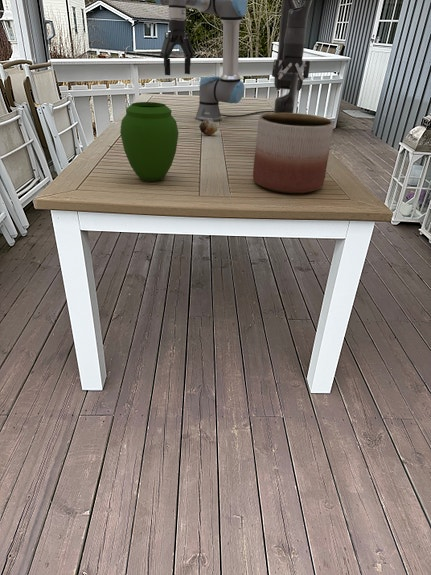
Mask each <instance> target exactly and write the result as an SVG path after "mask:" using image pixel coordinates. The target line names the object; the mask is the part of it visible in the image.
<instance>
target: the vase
mask: <svg viewBox="0 0 431 575" xmlns="http://www.w3.org/2000/svg"><path fill="white" fill-rule="evenodd" d="M125 113H126V114H125V115H124V117H122V119H121V122H120V123H121V124H120V130H119V133H120V138H121V142H122V147H123V150H124V154H125V155H126V158H127V160H128V163H129V165H130V167H131V168H132V170H133V172H134V173H135V175H136V176H137V177H138V178H139V179H141V180H143V181H145V182H159V181H161V180H163V179H164V178H165V176H166V175H167V174H168V173H169V170H170V169H171V167H172V165H173V162H174V159H175V157H176V156H175V155H176V153H177V147H178V140H179V129H178V122H177V120H176V119H175V117H174V116H173V115H172V109H171V108H170V107H169V106H167V105H166V104H164V103H162V102H155V101H138V102H132V103H131V104H130V105H128V107H127V108H125Z"/></svg>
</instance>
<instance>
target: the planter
mask: <svg viewBox="0 0 431 575" xmlns="http://www.w3.org/2000/svg"><path fill="white" fill-rule="evenodd" d="M334 128H335V121H333V120H332V119H330V118H327V117H324V116H321V115H320V116H319V115H316V114H315V115H314V114H307V113H299V112H293V113H274V112H267V113H262V114H261V115H259V116H258V121H257V132H256V142H255V150H254V159H253V168H252V180H253V181H254V182H255V183H256V184H257V185H258V186H260V187H262V188H263V189H267V190H269V191H273V192H276V193H282V194H307V193H312V192H315V191H317V190H319V189H321V188H322V187H323V185H324V182H325V178H326V173H327V167H328V161H329V156H330V150H331V144H332V139H333V133H334Z"/></svg>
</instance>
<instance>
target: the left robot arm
mask: <svg viewBox="0 0 431 575" xmlns="http://www.w3.org/2000/svg"><path fill="white" fill-rule="evenodd" d="M153 1H154V2H155V4H157V5H162V6H163V5H166V6H168V19H169V21H168V30H169V31H170V32H164V39H163V43H162V47H161V49H160V53H159V56H160V58H161V59H163V67H164V75H165V76H171V58H170V56H171V54H172V52H173V51H174V48H175V46H178V45H179V46H180V48H181V50H182V52H183V54H184V56H185V57H184V74H185V75H190V74H191V65H192V64H191V61H192V59H193V58H194V57H195V53H194V50H193V45H192V42H191V36H190V33H189V32H188V33H187V32H186V31H187V21H186V19H187V8H188V9H196V11H198V12H202V13H206V14H209V15H212V16H219V21H220V22H221V23H222V74H221V76H206V77H201V78H200V80H199V86H198V87H199V94H198V95H199V100H198V101H199V103H198V104H199V105H198V107H197V111H196V114H195V119H196V120H199V121H202V122H203V121H205V120H208V119H212V120H213V121H214V122H218V121H221V120H222V117H227V118H228V117H229V118H240V117H246V116H252V115H255V114H261V113H262V114H265V113H274V110H259V111H254V112H250V113H246V114H234V115H232V114H231V115H230V114H224V113H223V114H222V113H221V110H220V107H219V105H220V103H225V104H226V103H227V104H238V103H240V102H241V100H242V98H243V96H244V92H245V84H244V82H243V81H241V78H242V77H241V76H240V75H239V52H240V51H239V50H240V49H239V48H240V46H239V45H240V23H241V22H242V21H243V17H245V15H246V13H247V10H248V1H247V0H153ZM219 102H220V103H219Z"/></svg>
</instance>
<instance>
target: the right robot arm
mask: <svg viewBox="0 0 431 575" xmlns="http://www.w3.org/2000/svg"><path fill="white" fill-rule="evenodd" d="M312 2H313V0H304V2H303V4H302V5H300V6H299V3H298V0H282V1H281V10H280V18H279V19H280V21H279V31H278V32H279V33H278V48H277V56H276V58H275V59H274V60H273V65H272V72H271V77H273V78H274V80H273V83H274V84H273V85H274V88H275V89H276V90H277V91H281V90H288V92H287V93H286V94H284V95H281V96H278V97H276V98H275V100H274V108H273V111H274V112H273V113H294V108H295V102H296V95H297V91H299V92H300V91H301V90H302V88H303V85H304V84H303V83H304V80H306V79H309V75H310V66H311V65H310V64H311V62H310V60H303V57H304V51H305V50H304V49H305V44H306V43H305V42H306V32H307V31H306V30H307V29H306V28H307V23H308V18H309V17H308V16H309V12H310V8H311V5H312ZM302 66H303V72H302V70H301V67H302Z"/></svg>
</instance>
